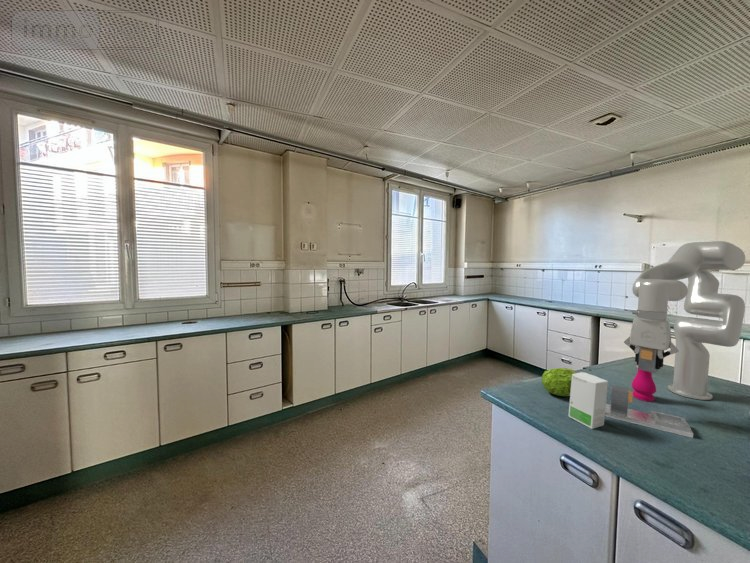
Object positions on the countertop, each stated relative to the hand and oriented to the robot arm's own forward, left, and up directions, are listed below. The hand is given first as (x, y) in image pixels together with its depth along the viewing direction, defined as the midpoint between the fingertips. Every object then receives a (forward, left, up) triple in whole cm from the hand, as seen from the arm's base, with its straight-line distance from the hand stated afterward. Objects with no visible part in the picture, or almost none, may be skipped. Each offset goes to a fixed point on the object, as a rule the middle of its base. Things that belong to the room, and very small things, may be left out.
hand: (648, 365), depth 103 cm
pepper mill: (-16, +1, -18) cm, 24 cm away
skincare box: (+19, -17, -18) cm, 31 cm away
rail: (+7, -1, -17) cm, 19 cm away
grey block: (0, 0, -1) cm, 1 cm away
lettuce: (-5, -24, -18) cm, 30 cm away
